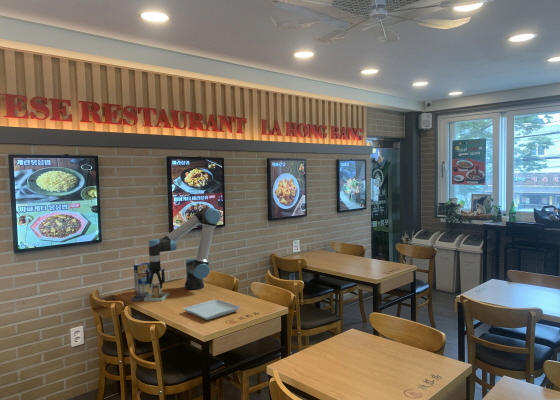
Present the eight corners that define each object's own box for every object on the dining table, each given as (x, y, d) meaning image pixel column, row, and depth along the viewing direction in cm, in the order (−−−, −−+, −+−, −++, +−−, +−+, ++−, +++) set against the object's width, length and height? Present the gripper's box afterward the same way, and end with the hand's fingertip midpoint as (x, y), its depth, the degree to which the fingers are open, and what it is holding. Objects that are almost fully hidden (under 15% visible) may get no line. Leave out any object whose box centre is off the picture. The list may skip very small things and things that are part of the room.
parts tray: (168, 296, 300) (168, 292, 300) (162, 301, 287) (162, 298, 287) (151, 296, 301) (151, 293, 301) (144, 301, 288) (143, 298, 288)
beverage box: (134, 293, 311) (133, 264, 310) (148, 290, 319) (147, 262, 317) (138, 294, 306) (137, 266, 305) (152, 291, 314) (151, 263, 312)
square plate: (241, 312, 262) (241, 306, 262) (205, 323, 243) (205, 317, 243) (216, 303, 281) (216, 298, 281) (182, 313, 262) (181, 307, 262)
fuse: (146, 295, 302) (145, 283, 302) (144, 296, 298) (143, 284, 298) (141, 295, 303) (140, 283, 302) (138, 297, 299) (138, 284, 298)
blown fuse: (160, 297, 296) (159, 285, 296) (158, 298, 292) (157, 286, 292) (154, 297, 296) (154, 285, 297) (152, 298, 292) (152, 286, 292)
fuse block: (149, 295, 304) (149, 292, 304) (140, 302, 288) (140, 298, 288) (140, 295, 304) (139, 292, 304) (131, 302, 289) (130, 298, 289)
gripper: (168, 259, 296) (170, 291, 297) (144, 259, 297) (146, 291, 298) (165, 261, 288) (166, 294, 290) (140, 262, 290) (141, 294, 291)
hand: (156, 292), depth 294 cm, fingers open, 5 cm apart
